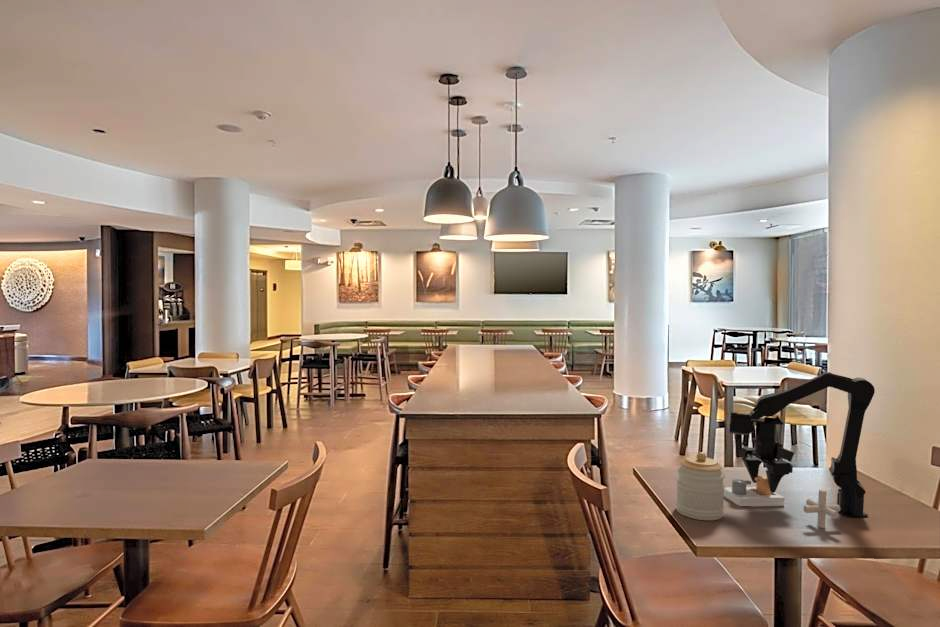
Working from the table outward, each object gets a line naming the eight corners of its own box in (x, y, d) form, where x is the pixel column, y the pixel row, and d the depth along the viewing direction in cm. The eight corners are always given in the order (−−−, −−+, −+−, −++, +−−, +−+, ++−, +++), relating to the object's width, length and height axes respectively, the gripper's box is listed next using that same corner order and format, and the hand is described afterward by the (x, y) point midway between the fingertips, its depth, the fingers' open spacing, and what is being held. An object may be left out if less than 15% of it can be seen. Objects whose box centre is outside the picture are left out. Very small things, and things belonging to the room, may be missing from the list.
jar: (665, 507, 177) (668, 448, 176) (701, 503, 182) (703, 445, 181) (696, 523, 165) (699, 460, 164) (733, 518, 169) (736, 456, 169)
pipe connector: (823, 519, 171) (825, 484, 170) (851, 533, 161) (853, 496, 160) (792, 520, 169) (793, 485, 168) (818, 534, 159) (820, 497, 159)
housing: (783, 505, 181) (784, 486, 180) (740, 506, 179) (740, 486, 179) (763, 494, 191) (764, 475, 190) (722, 495, 189) (722, 476, 189)
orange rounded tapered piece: (773, 499, 183) (773, 479, 183) (759, 499, 183) (759, 479, 183) (765, 494, 187) (766, 475, 187) (751, 494, 187) (752, 475, 187)
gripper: (810, 444, 176) (808, 497, 177) (771, 429, 195) (769, 477, 195) (775, 445, 175) (773, 498, 175) (739, 430, 193) (737, 478, 194)
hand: (763, 487), depth 185 cm, fingers open, 9 cm apart
